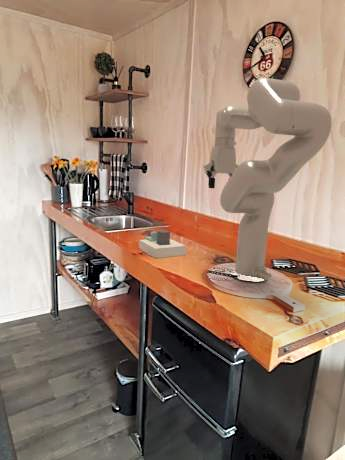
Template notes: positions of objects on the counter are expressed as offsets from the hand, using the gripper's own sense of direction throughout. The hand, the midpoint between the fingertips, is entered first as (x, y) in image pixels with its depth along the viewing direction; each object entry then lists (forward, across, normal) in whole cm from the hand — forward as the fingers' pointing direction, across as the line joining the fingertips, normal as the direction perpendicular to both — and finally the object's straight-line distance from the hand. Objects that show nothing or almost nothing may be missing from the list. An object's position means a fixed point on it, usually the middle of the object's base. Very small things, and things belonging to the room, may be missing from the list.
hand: (221, 188), depth 128 cm
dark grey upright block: (+27, +18, -14) cm, 35 cm away
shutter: (+24, +18, -22) cm, 37 cm away
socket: (+28, +18, -14) cm, 36 cm away
